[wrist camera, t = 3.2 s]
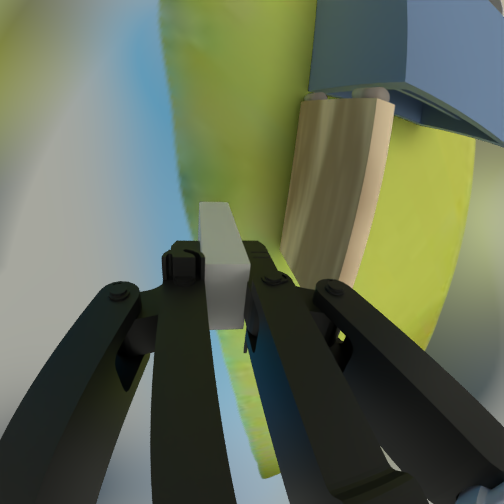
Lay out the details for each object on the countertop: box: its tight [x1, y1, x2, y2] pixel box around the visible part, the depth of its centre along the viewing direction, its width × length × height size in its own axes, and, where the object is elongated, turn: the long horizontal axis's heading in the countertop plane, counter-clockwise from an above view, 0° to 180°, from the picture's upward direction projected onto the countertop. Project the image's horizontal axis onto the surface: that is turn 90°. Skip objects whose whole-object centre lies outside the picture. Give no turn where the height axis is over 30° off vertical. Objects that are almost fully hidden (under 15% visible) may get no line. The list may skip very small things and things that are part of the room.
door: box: [280, 87, 395, 290], centre depth 19 cm, size 1×15×11 cm, turn 174°
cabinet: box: [308, 0, 504, 147], centre depth 14 cm, size 12×14×13 cm
